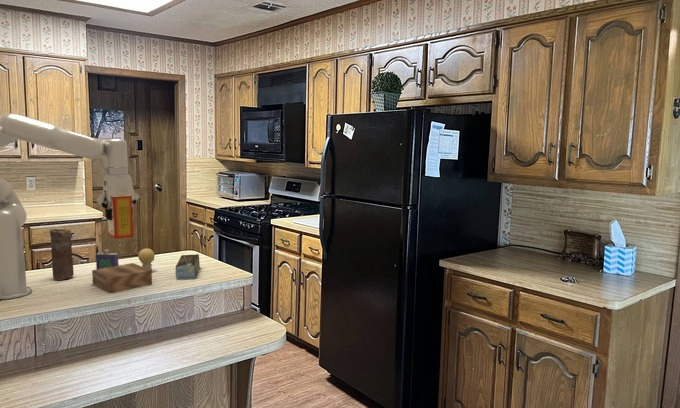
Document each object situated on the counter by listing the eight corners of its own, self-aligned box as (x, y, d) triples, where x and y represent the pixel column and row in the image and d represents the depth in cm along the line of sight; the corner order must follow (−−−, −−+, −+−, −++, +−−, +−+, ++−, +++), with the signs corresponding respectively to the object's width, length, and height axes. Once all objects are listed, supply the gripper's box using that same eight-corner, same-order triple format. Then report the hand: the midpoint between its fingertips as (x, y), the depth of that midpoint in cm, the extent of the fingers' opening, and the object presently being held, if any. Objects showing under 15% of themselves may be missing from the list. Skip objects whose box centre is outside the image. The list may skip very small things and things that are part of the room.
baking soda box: (133, 236, 189) (131, 194, 187) (115, 238, 185) (113, 195, 183) (125, 233, 196) (123, 192, 194) (107, 235, 192) (105, 193, 190)
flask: (120, 274, 208) (118, 248, 206) (116, 275, 205) (115, 250, 203) (98, 273, 208) (97, 248, 207) (94, 275, 205) (93, 250, 204)
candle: (54, 276, 203) (51, 228, 200) (74, 275, 206) (71, 227, 203) (51, 281, 196) (48, 231, 193) (73, 279, 199) (70, 230, 196)
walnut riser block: (110, 294, 182) (109, 278, 181) (93, 285, 193) (92, 270, 192) (152, 285, 193) (151, 270, 193) (133, 277, 204) (133, 263, 203)
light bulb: (139, 270, 213) (138, 247, 212) (155, 269, 216) (154, 246, 214) (138, 274, 207) (137, 250, 206) (155, 272, 210) (154, 249, 208)
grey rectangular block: (175, 280, 200) (174, 264, 199) (181, 268, 218) (180, 253, 218) (195, 279, 201) (195, 263, 200) (200, 267, 220) (199, 253, 219)
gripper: (98, 173, 178) (101, 222, 181) (144, 171, 192) (146, 216, 194) (89, 172, 183) (91, 220, 185) (133, 170, 196) (135, 215, 199)
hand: (119, 218), depth 190 cm, fingers closed on baking soda box, 7 cm apart
